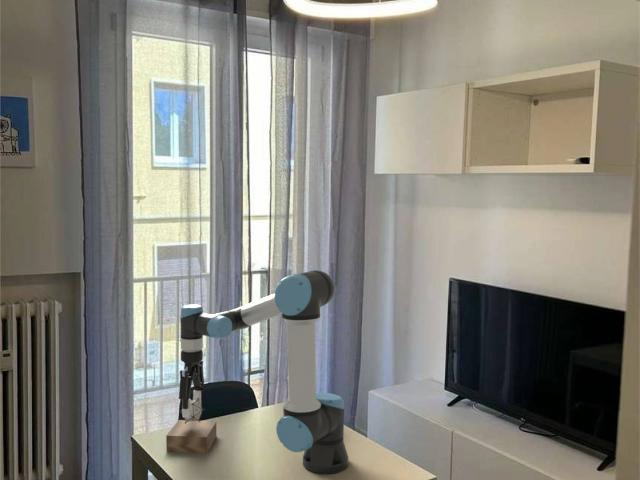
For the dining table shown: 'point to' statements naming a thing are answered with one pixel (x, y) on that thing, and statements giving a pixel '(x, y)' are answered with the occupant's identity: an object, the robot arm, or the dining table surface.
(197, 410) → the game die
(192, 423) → the walnut block
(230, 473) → the dining table surface
